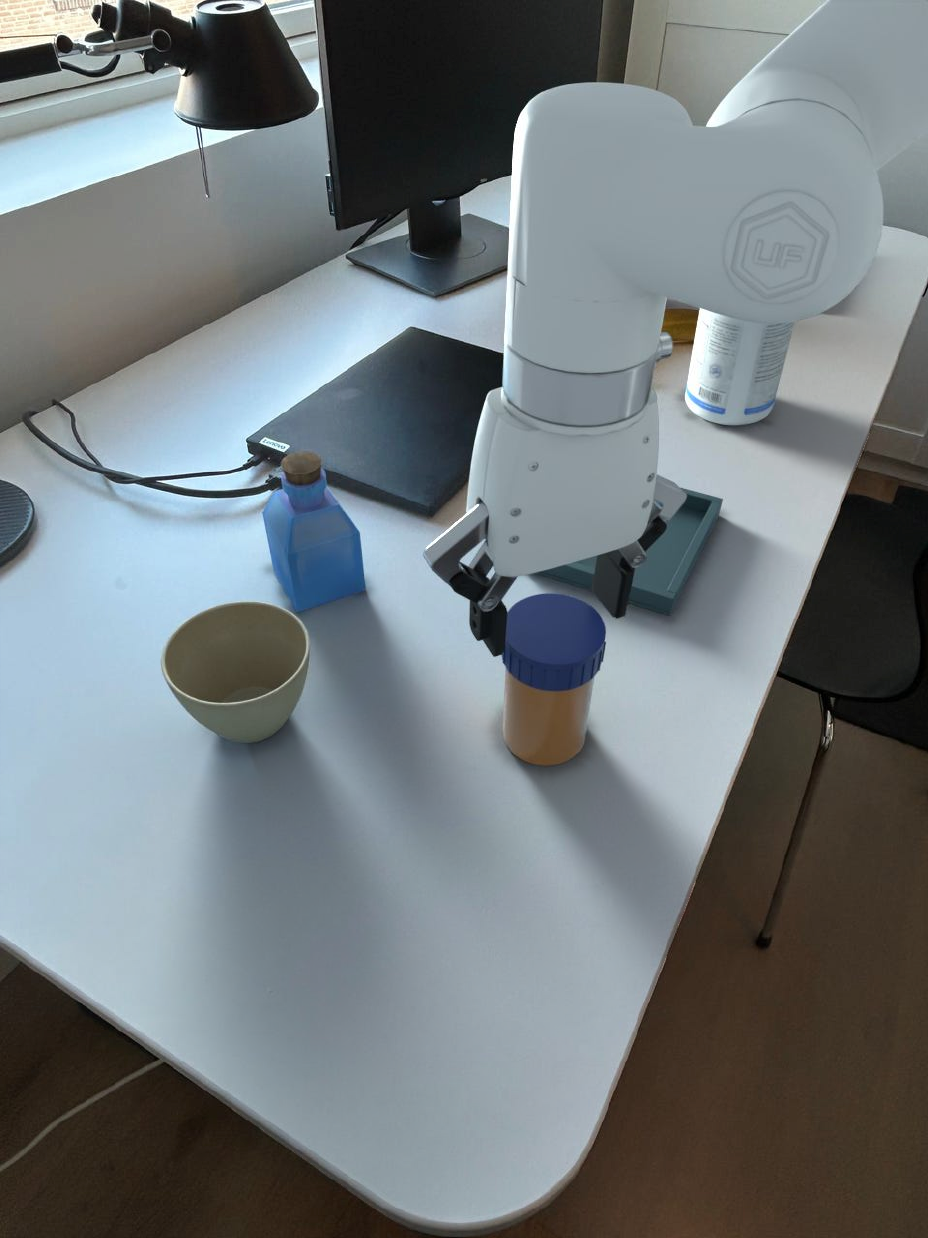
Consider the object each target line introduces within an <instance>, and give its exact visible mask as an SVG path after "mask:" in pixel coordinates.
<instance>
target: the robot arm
mask: <svg viewBox="0 0 928 1238" xmlns="http://www.w3.org/2000/svg"><path fill="white" fill-rule="evenodd" d="M926 134H928V0H826V1H825V2H824V3H822V4H821V5H820V6H819V7H817V9H816V10H815V11H813V13H811V14H810V15H809V16H808V17H807V18H806V19H805V20H804V21H803V22H801V23H800V24H799V25H798V26H797V27H796V28H795V29H794V30H793V31H792V32H791V33H789V34H788V36H786V37H785V38H784V39H783V40H782V41H781V42H780V43H779V44H777V45H776V46H775V47H774V48H773V49H772V50H771V51H770V52H769V53H768V54H766V55H765V56H764V57H763V59H761V60H760V61H759V62H758V63H757V64H756V65H755V66H754V67H752V69H751V70H750V71H749V72H748V73H746V75H744V76H743V77H742V79H741V80H739V81H738V82H737V84H735V86H734V87H733V88H732V89H730V91H729V92H728V94H727V95H726V96H725V97H724V98H723V99H722V100H721V102H720V103H719V104H718V106H717V108H715V110H714V112H713V113H712V115H711V117H710V118H709V119H708V121H707V123H706V125H705V126H703V125H693V122H692V120H691V118H690V115H689V113H688V111H687V109H686V108H685V107H684V106H683V105H682V104H681V103H680V102H679V101H678V100H677V99H676V98H674V97H672V96H671V95H668V94H666V93H664V92H661V91H659V90H656V89H653V88H649V87H646V86H641V85H635V84H628V83H620V82H619V83H618V82H600V81H599V82H597V81H596V82H593V81H591V82H578V83H570V84H563V85H559V86H555V87H551V88H549V89H546V90H544V91H541V92H540V93H538V94H536V95H535V96H534V97H533V98H531V99H530V100H529V101H528V103H526V105H525V107H524V108H523V109H522V111H521V112H520V114H519V116H518V119H517V123H516V126H515V130H514V138H513V139H514V140H513V150H512V165H511V166H512V167H511V168H512V170H511V171H512V172H511V190H510V191H511V192H510V209H509V210H510V215H509V235H508V236H509V237H508V255H507V257H508V259H507V279H506V297H505V298H506V300H505V318H504V321H505V322H504V336H503V337H504V338H503V339H504V341H503V363H502V379H501V380H502V381H501V385H502V386H500V387H497V388H494V389H492V390H490V391H488V393H487V394H486V397H485V400H484V404H483V407H482V410H481V414H480V418H479V421H478V425H477V429H476V434H475V439H474V444H473V450H472V454H471V461H470V470H469V476H468V484H467V485H468V486H467V496H466V497H467V498H466V509H465V510H466V511H465V514H464V515H463V516H462V517H461V518H459V520H458V521H456V522H455V523H454V524H453V525H451V526H450V527H449V528H448V529H446V531H445V532H443V533H442V534H441V535H440V536H438V537H437V538H436V539H435V540H434V541H433V542H431V543H430V544H429V545H428V546H427V547H426V548H425V549H424V550H423V553H422V557H423V558H424V560H425V561H426V563H427V564H428V566H429V568H430V569H431V571H432V572H433V573H434V574H435V575H437V576H438V577H439V578H440V580H442V582H444V583H445V584H447V585H448V586H449V587H451V589H452V590H453V592H454V593H455V594H457V595H459V596H461V597H463V598H464V599H467V600H469V611H468V612H469V613H468V614H469V615H468V618H469V619H468V623H469V629H470V631H471V633H472V636H473V637H474V638H475V640H476V641H477V642H480V641H483V643H484V644H485V646H486V648H487V649H488V651H489V652H490V654H491V655H492V657H494V658H497V657H499V656H502V654H503V652H504V651H505V641H506V625H507V612H508V607H507V606H506V605H505V603H504V602H503V601H502V600H503V599H504V598H505V596H506V594H507V593H508V592H509V590H510V588H511V587H512V586H513V585H514V583H515V582H516V580H517V578H518V577H522V576H523V577H524V576H528V575H532V574H537V573H536V572H540V571H544V570H548V569H551V568H555V567H558V566H562V565H566V564H569V563H573V562H576V561H580V560H583V559H587V558H590V557H593V556H597V559H596V566H595V572H594V579H593V585H592V591H591V592H592V593H593V595H594V597H596V599H597V600H598V601H599V602H600V604H601V605H602V606H603V607H604V608H605V610H606V611H607V612H608V613H609V614H610V616H611V617H612V618H615V619H617V620H618V619H621V618H623V617H625V616H626V614H627V608H628V604H629V603H628V599H629V595H630V592H631V587H632V582H633V577H634V572H635V568H638V567H640V566H641V565H643V564H644V563H645V561H646V559H647V555H646V553H645V552H646V551H647V550H648V549H649V548H650V547H651V546H652V545H653V544H654V543H655V542H656V541H657V539H658V538H659V537H660V536H661V535H662V534H663V533H664V532H665V531H666V528H667V524H666V522H667V521H668V520H669V521H670V520H671V519H672V518H673V516H674V515H675V514H676V512H677V511H678V510H679V509H680V507H681V506H682V505H683V503H684V502H685V501H686V499H687V494H686V493H685V492H684V491H683V490H682V489H681V488H682V487H680V485H678V484H677V483H675V481H673V480H670V479H668V478H666V477H664V476H662V475H661V474H658V467H659V450H660V417H659V416H660V415H659V404H658V396H657V392H656V390H655V388H654V387H653V379H654V374H655V369H656V364H657V363H659V362H660V361H661V360H665V359H669V358H670V357H671V356H672V355H673V351H674V341H673V338H672V336H671V335H670V333H668V332H667V331H662V328H663V322H664V317H665V311H666V307H667V306H666V305H667V300H668V299H670V300H673V301H676V302H680V303H683V304H686V305H689V306H692V307H695V308H698V309H700V308H701V309H704V310H707V311H710V312H713V313H717V314H720V315H723V316H727V317H731V318H735V319H739V320H743V321H749V322H756V323H765V324H776V323H789V322H794V323H795V322H799V321H800V322H801V321H804V320H808V319H810V318H812V317H813V318H814V317H815V316H818V315H820V314H823V313H824V312H826V311H827V310H828V311H829V310H830V309H831V308H833V307H834V306H836V305H838V304H839V303H840V302H841V301H842V300H845V298H847V297H848V295H850V293H852V292H853V291H854V289H856V287H857V286H858V285H860V283H861V281H862V280H863V278H864V277H865V276H866V275H867V273H868V271H869V269H870V267H871V266H872V264H873V262H874V259H875V257H876V254H877V252H878V249H879V247H880V242H881V238H882V235H883V226H884V199H883V191H882V187H881V183H880V179H879V175H878V171H879V170H881V168H883V167H884V166H885V165H887V164H888V163H889V162H890V161H891V160H893V159H894V158H896V157H897V156H898V155H899V154H900V153H902V152H903V151H904V150H907V148H909V147H910V146H912V145H913V144H914V143H916V142H917V141H919V140H920V139H921V138H922V137H924V136H925V135H926ZM482 542H483V543H482ZM481 543H482V544H481ZM479 544H481V546H480V547H479V549H478V550H477V552H476V554H475V555H474V556H473V558H472V560H470V563H469V564H468V565H467V564H465V563H463V562H461V560H462V559H463V558H464V557H466V555H467V554H469V553H470V552H471V551H472V550H473V549H474V548H476V547H477V546H478V545H479ZM492 568H493V570H494V573H493V575H492V576H491V578H490V577H488V574H489V573H490V572H491V570H492Z"/></svg>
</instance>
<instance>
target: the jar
mask: <svg viewBox="0 0 928 1238" xmlns="http://www.w3.org/2000/svg"><path fill="white" fill-rule="evenodd" d="M504 673H505V674H504V693H503V717H502V737H503V740H504V743H505V745H506V747H507V748H508V750H509V751H510V752H511V753H512V754H513V755H515V756H516V757H517V758H519V759H520V760H522V761H524V762H526V763H529V764H531V765H536V766H543V767H544V766H545V767H550V766H557V765H562V764H564V763H566V762H569V761H570V760H571V759H574V757H576V756H577V755H578V754H579V753H580V752H581V750H582V749H583V747H584V745H585V741H586V735H587V729H588V723H589V715H590V709H591V702H592V696H593V688H594V682H595V676H594V677H593V679H591V680H590V681H589V682H587V683H586V684H584V685H582V686H580V687H578V688H575V689H571V690H566V691H544V690H539V689H535V688H532V687H529V686H527V685H525V684H523V683H521V682H520V681H518V680H517V679H516V678H514V677H513V676H512V675H511V674H510V673H509V672H508V670H507V669H506V668H505V671H504Z"/></svg>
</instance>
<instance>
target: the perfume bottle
mask: <svg viewBox="0 0 928 1238" xmlns="http://www.w3.org/2000/svg"><path fill="white" fill-rule="evenodd" d="M322 463H323V460H322V457H321V456H320V455H319V454H317V453H316V452H313V451H307V450H304V451H303V450H301V451H295V452H292V453H289V454H287V455H286V456H284V457H283V459H282V460H281V462H280V466H281V469H282V473H281V477H280V478H281V485H282V489H279V490H275V491H274V492H273V494H272V495H271V497H270V499H269V501H267V504H266V505H265V507H264V508H263V510H262V513H261V514H262V518H263V523H264V529H265V534H266V539H267V544H268V549H269V555H270V560H271V565H272V570H273V572H274V573H275V575H276V577H277V579H278V581H279V582H280V584H281V587H282V588H283V590H284V592H285V593H286V596H287V597H288V599H289V601H290V603H291V604H292V606H293V608H294V610H295V612H296V613H300V612H302V611H306V610H308V609H312V608H315V607H318V606H320V605H323V604H326V603H330V602H333V601H335V600H339V599H343V598H346V597H348V596H352V595H354V594H357V593H360V592H363V591H366V590H367V589H366V579H365V568H364V560H363V550H362V548H363V547H362V540H361V532H360V530H359V529H358V527H357V526H356V525H355V523H354V521H353V520H352V519H351V517H350V516H349V515H348V513H347V512H346V510H345V509H344V508H343V506H342V504H341V503H340V501H339V500H338V499H337V497H336V496H335V495H334V493H333V492H332V491H331V489H330V487H328V485H327V484H328V483H327V482H328V481H327V474H326V471H325V469H324V468H323V467H322V466H323V465H322Z"/></svg>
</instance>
